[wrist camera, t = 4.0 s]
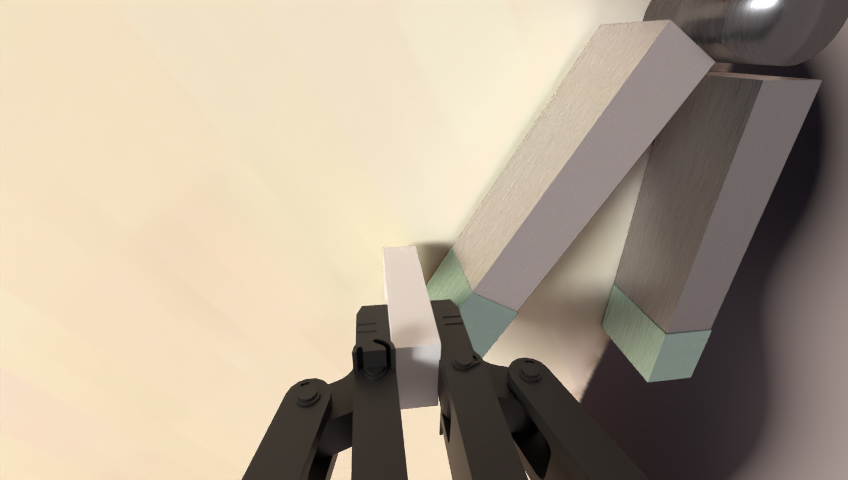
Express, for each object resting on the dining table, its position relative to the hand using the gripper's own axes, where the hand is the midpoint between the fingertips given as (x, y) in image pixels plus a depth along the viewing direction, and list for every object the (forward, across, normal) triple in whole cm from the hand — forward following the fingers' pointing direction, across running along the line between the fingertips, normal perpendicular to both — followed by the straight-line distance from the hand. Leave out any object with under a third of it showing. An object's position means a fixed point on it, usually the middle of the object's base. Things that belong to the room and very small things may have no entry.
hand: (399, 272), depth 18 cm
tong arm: (+1, +6, +3) cm, 7 cm away
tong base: (+2, +13, +3) cm, 13 cm away
